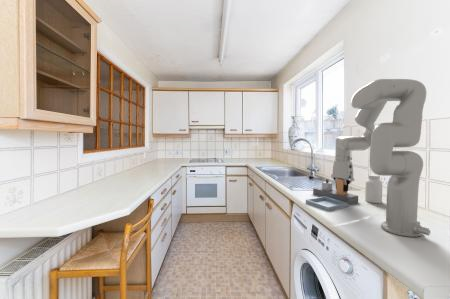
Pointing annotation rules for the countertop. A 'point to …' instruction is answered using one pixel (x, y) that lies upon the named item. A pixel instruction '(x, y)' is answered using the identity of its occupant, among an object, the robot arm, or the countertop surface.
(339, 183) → the plug
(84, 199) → the countertop surface
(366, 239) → the countertop surface
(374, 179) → the pill bottle
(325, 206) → the tray
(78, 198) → the countertop surface
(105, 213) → the countertop surface
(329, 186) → the twin plug
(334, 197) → the grey two-slot holder
